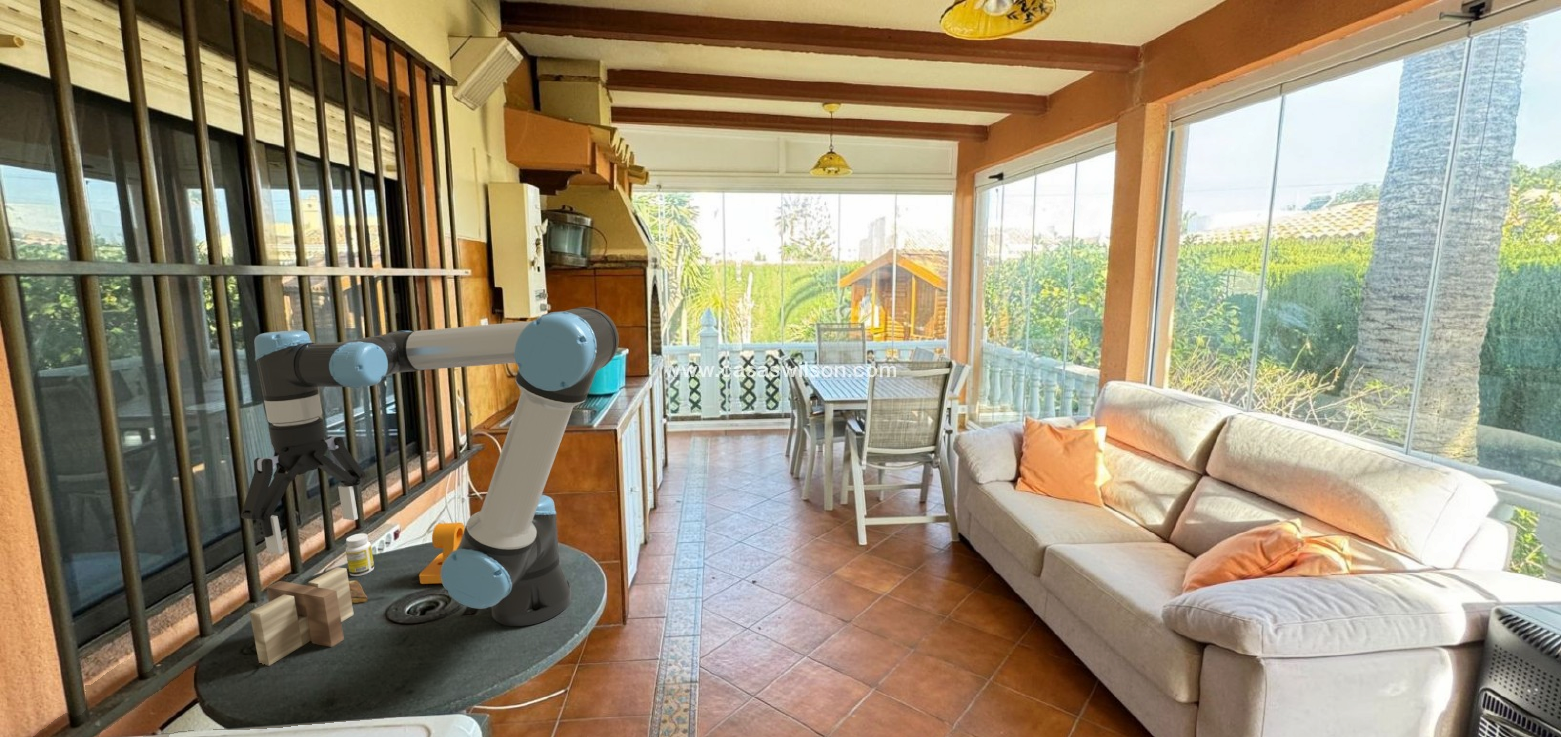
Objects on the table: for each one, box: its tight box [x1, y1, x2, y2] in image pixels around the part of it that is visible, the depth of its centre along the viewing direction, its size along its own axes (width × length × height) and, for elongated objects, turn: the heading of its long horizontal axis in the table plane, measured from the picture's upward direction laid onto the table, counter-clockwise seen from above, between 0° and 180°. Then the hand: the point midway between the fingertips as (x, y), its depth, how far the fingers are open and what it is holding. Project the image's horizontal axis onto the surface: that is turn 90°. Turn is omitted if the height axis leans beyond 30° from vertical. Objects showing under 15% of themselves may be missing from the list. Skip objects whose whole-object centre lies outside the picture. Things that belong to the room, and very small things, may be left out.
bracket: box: [418, 522, 466, 585], centre depth 137 cm, size 11×7×12 cm, turn 4°
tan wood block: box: [265, 580, 345, 648], centre depth 115 cm, size 14×2×10 cm, turn 75°
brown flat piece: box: [348, 580, 368, 604], centre depth 128 cm, size 11×8×2 cm
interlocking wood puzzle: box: [249, 566, 355, 667], centre depth 115 cm, size 2×16×10 cm, turn 165°
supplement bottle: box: [345, 533, 375, 577], centre depth 139 cm, size 5×5×8 cm
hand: (315, 534), depth 110 cm, fingers open, 13 cm apart
